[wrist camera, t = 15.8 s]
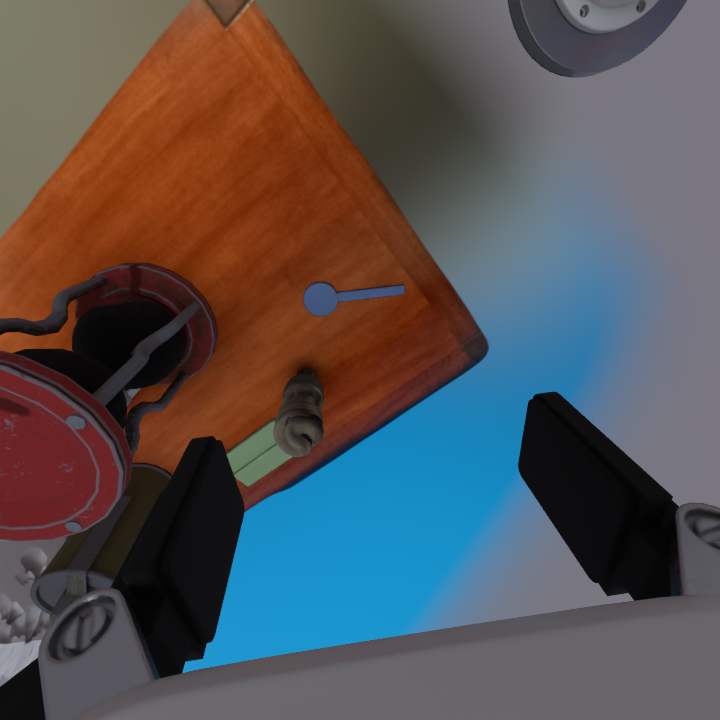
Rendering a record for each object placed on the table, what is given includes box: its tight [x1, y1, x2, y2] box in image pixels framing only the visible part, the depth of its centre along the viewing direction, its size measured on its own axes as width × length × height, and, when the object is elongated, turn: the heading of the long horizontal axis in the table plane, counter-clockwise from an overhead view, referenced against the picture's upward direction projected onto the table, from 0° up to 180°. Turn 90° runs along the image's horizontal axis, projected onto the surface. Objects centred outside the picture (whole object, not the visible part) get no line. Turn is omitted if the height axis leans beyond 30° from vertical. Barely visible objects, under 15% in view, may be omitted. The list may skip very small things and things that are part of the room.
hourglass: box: [0, 263, 217, 542], centre depth 34 cm, size 16×16×25 cm
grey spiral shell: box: [273, 369, 324, 457], centre depth 44 cm, size 6×6×15 cm
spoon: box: [303, 282, 404, 316], centre depth 45 cm, size 13×4×1 cm, turn 95°
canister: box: [30, 464, 172, 623], centre depth 48 cm, size 11×10×20 cm
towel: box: [226, 418, 293, 486], centre depth 55 cm, size 12×7×1 cm, turn 127°
